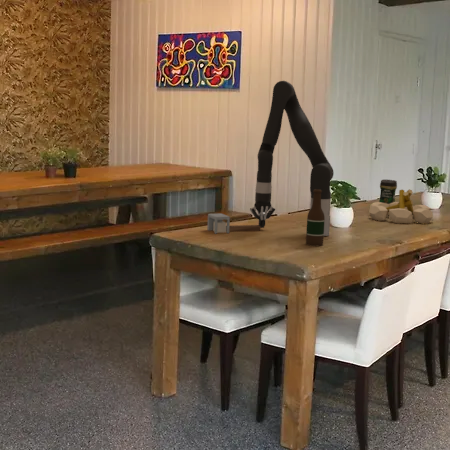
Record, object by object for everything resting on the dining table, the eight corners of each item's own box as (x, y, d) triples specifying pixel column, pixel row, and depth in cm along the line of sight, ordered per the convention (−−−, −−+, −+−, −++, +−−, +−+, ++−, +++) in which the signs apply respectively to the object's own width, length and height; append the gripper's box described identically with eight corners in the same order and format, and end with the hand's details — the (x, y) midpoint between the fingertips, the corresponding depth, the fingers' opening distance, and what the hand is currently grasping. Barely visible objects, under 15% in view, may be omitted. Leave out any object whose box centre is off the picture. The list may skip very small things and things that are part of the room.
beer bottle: (302, 242, 298) (305, 188, 294) (317, 242, 301) (321, 188, 297) (310, 246, 291) (313, 190, 287) (326, 245, 294) (330, 190, 290)
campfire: (435, 226, 355) (438, 194, 352) (369, 222, 360) (372, 190, 358) (427, 216, 389) (429, 186, 387) (366, 213, 395) (368, 183, 392)
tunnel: (229, 233, 315) (229, 216, 313) (215, 233, 312) (215, 217, 310) (221, 229, 323) (221, 213, 322) (207, 230, 321) (207, 213, 319)
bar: (260, 231, 324) (260, 226, 323) (225, 232, 319) (226, 226, 319) (258, 230, 326) (258, 225, 326) (224, 231, 322) (224, 225, 321)
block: (225, 232, 317) (226, 222, 316) (216, 232, 315) (217, 223, 314) (222, 230, 321) (222, 221, 320) (213, 231, 319) (213, 221, 318)
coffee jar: (376, 210, 403) (378, 179, 399) (380, 209, 409) (382, 178, 406) (392, 212, 398) (394, 180, 395) (396, 210, 405) (398, 179, 401)
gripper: (254, 192, 318) (252, 229, 321) (279, 192, 323) (277, 228, 326) (247, 190, 324) (245, 226, 327) (272, 190, 330) (270, 225, 333)
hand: (261, 227), depth 327 cm, fingers closed
